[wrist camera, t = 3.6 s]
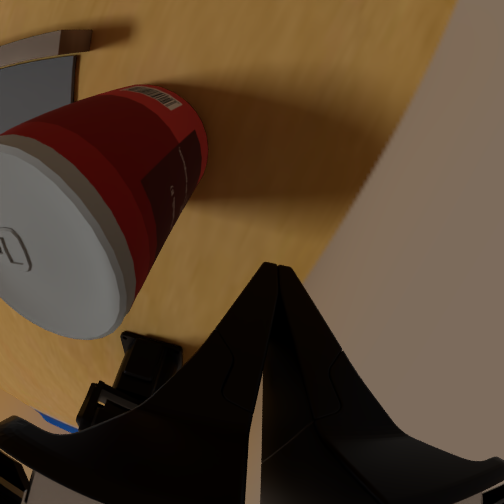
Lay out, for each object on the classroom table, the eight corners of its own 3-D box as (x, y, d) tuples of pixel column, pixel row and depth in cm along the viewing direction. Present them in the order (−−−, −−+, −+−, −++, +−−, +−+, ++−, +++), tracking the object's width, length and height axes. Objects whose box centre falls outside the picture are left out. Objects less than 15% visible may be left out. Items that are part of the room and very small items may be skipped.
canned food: (76, 111, 14) (-64, 192, 6) (191, 62, 13) (44, 85, 4) (117, 212, 19) (26, 337, 10) (227, 188, 17) (171, 345, 8)
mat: (79, 210, 19) (76, 212, 19) (-22, 190, 18) (-24, 192, 18) (76, 55, 12) (73, 55, 12) (-34, 79, 11) (-36, 80, 11)
